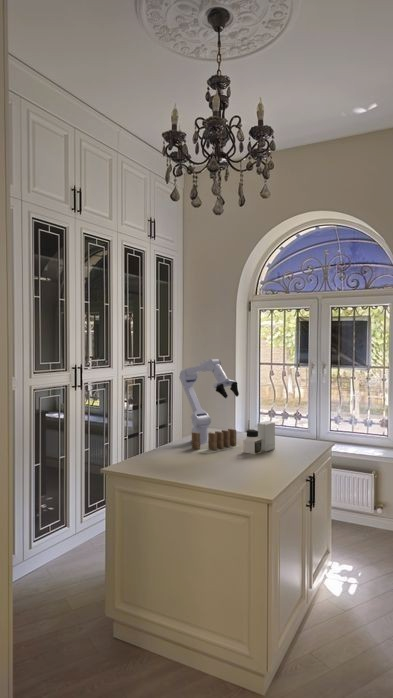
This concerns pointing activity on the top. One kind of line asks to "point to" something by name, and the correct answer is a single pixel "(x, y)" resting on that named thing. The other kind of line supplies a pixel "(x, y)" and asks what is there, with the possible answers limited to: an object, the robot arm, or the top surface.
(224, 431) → the domino
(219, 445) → the domino
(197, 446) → the end domino
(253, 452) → the medicine bottle
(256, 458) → the top surface
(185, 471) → the top surface
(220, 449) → the domino mat
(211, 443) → the domino
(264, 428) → the skincare box
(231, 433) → the domino
